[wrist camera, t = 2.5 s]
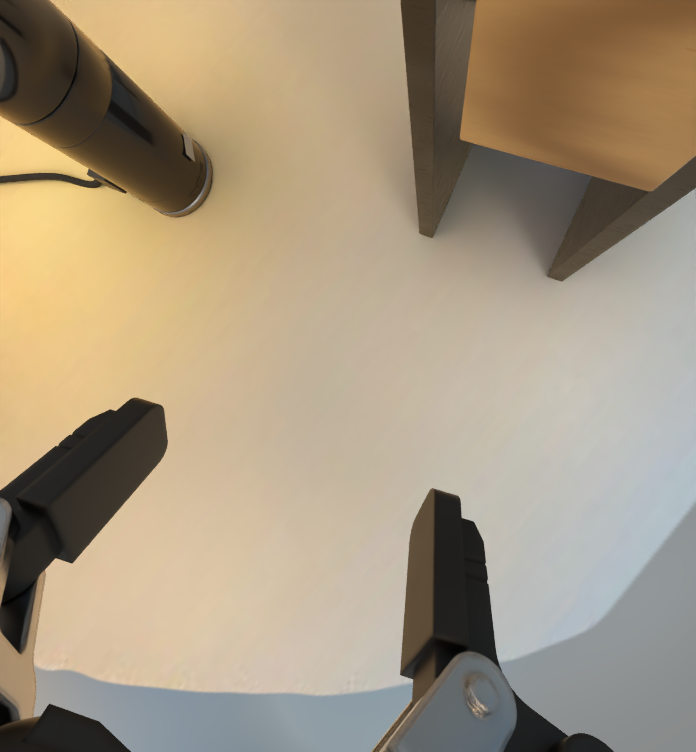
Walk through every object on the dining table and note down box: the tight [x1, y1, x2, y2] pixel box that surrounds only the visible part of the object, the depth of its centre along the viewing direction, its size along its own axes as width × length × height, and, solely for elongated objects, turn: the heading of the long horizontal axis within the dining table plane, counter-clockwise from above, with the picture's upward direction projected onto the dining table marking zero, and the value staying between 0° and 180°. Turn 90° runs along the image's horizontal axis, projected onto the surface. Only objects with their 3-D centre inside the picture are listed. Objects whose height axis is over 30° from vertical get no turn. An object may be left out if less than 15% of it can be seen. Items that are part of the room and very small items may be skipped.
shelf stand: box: [401, 0, 696, 281], centre depth 22 cm, size 15×12×31 cm
